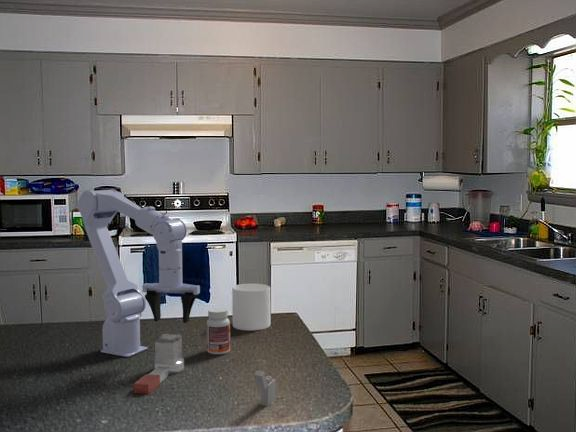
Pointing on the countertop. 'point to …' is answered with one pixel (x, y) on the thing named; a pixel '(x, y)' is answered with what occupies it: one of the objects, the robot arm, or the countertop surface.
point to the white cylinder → (251, 306)
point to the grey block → (168, 349)
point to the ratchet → (157, 377)
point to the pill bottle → (218, 331)
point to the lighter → (265, 387)
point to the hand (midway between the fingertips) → (171, 321)
